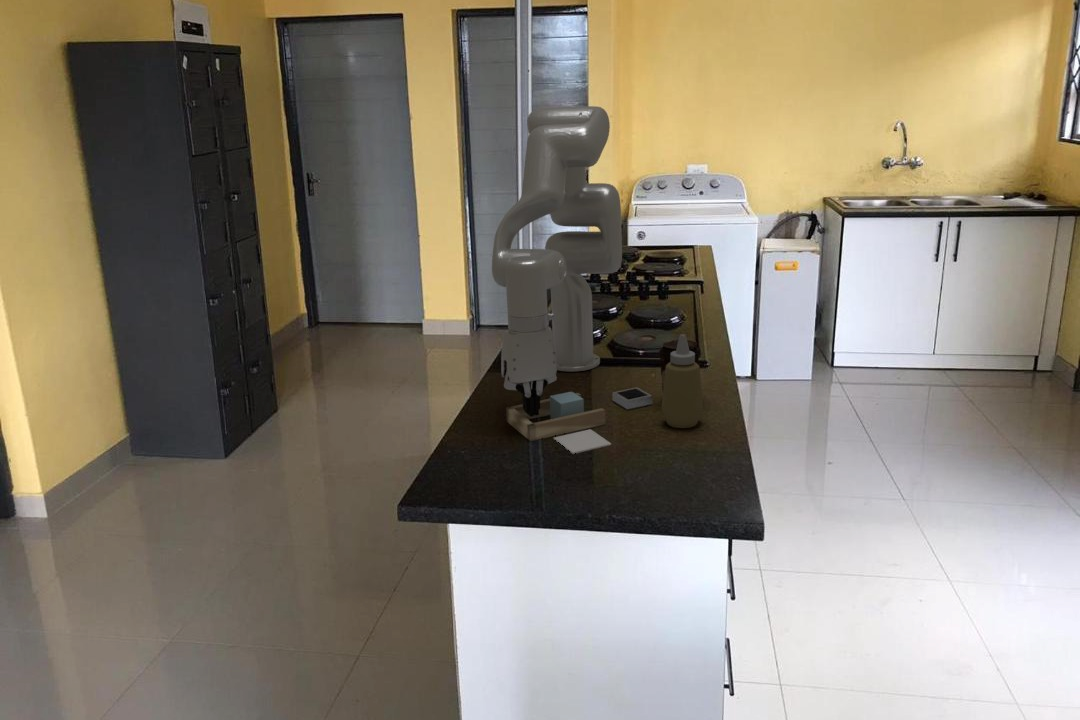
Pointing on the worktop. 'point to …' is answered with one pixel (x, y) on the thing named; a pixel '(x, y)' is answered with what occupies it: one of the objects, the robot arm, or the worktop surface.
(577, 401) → the blue block
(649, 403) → the tray
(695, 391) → the squeeze bottle
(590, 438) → the mat
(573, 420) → the cubby
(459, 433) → the worktop surface
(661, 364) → the coffee cup
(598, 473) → the worktop surface
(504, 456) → the worktop surface
